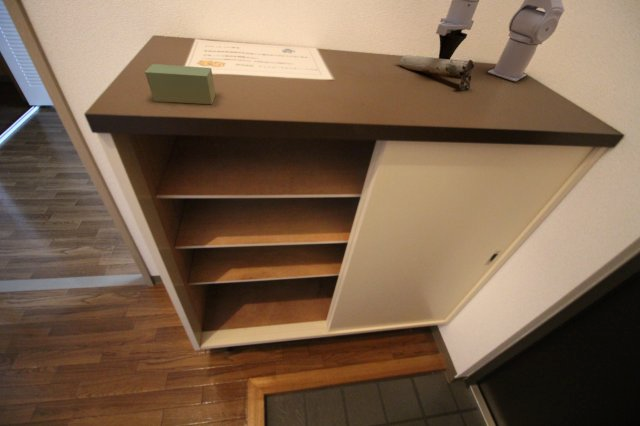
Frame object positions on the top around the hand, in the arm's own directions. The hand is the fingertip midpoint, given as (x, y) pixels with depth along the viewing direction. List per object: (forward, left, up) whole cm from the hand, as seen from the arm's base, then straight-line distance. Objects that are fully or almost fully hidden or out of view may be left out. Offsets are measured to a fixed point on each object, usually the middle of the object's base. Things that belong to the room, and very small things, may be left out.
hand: (442, 63), depth 74 cm
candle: (+4, 0, -3) cm, 5 cm away
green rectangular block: (+60, -20, -3) cm, 63 cm away
